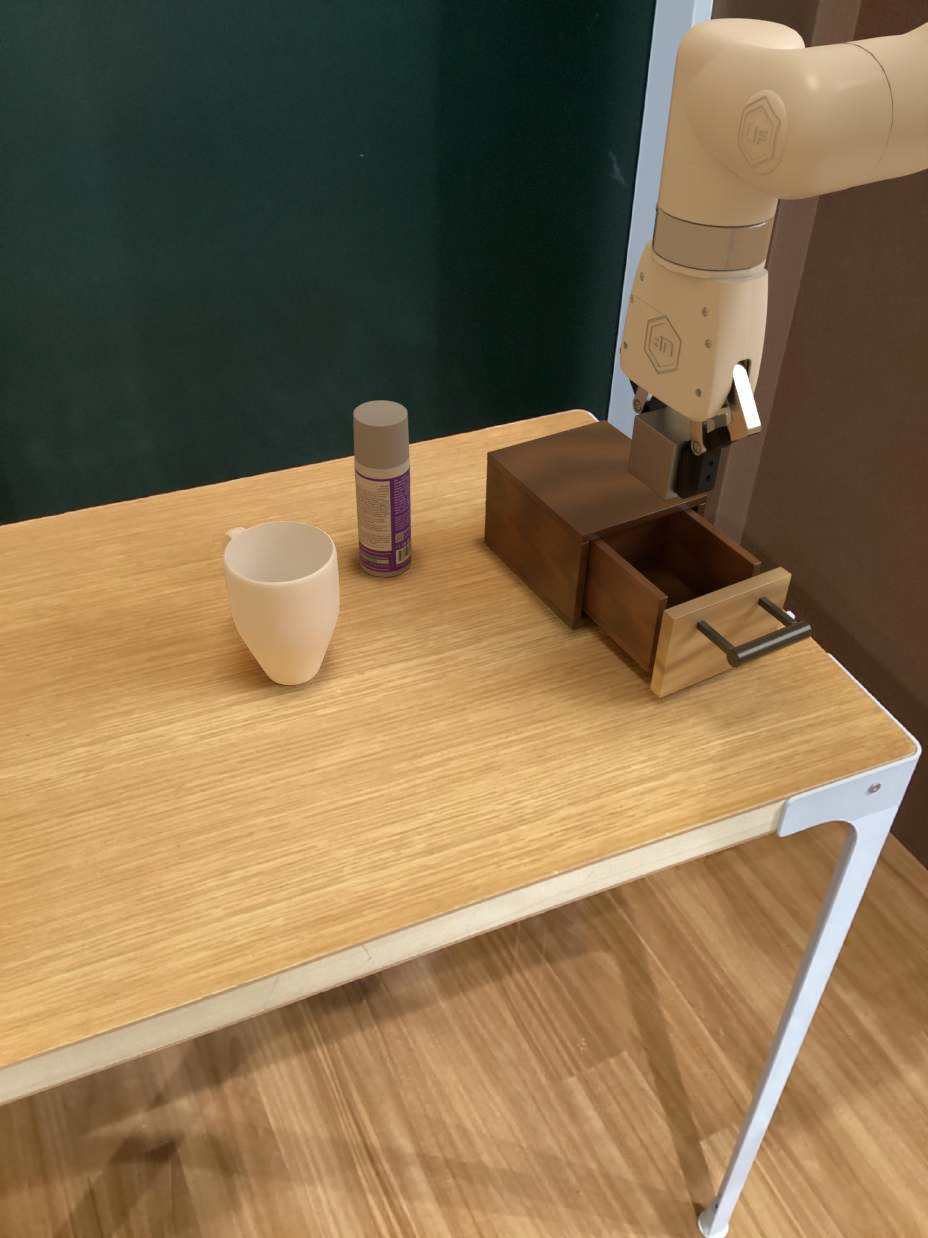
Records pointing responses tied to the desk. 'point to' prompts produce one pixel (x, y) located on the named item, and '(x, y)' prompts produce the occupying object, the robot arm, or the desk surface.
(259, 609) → the mug
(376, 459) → the container
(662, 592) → the drawer
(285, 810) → the desk surface
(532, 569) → the cabinet
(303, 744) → the desk surface
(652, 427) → the block
